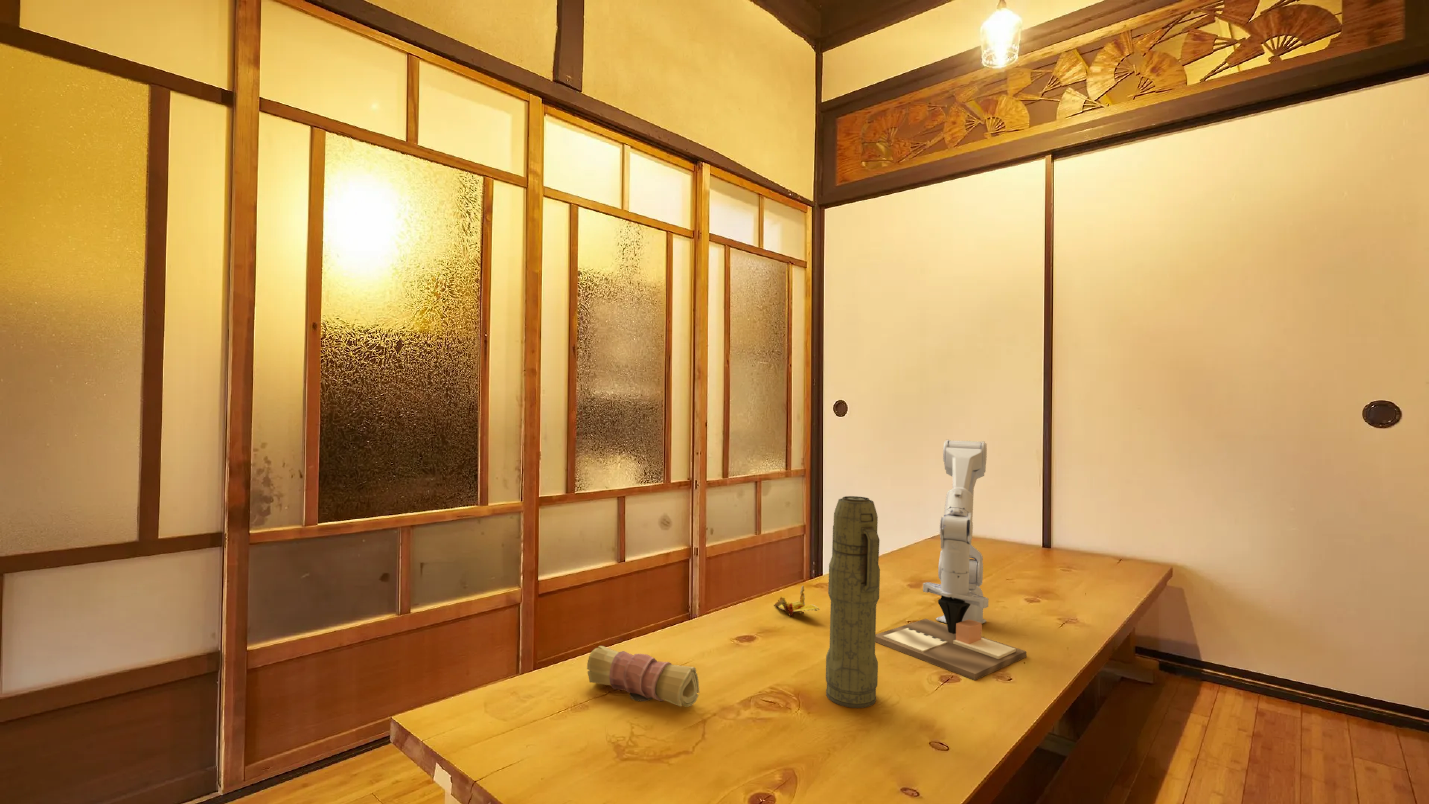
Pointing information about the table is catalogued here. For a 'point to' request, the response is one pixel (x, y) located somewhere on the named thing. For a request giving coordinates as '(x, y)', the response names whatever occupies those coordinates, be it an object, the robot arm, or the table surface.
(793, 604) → the origami crane
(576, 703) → the table surface
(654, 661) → the scroll
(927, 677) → the table surface
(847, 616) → the thermos
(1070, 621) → the table surface
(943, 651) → the board
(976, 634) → the stub
